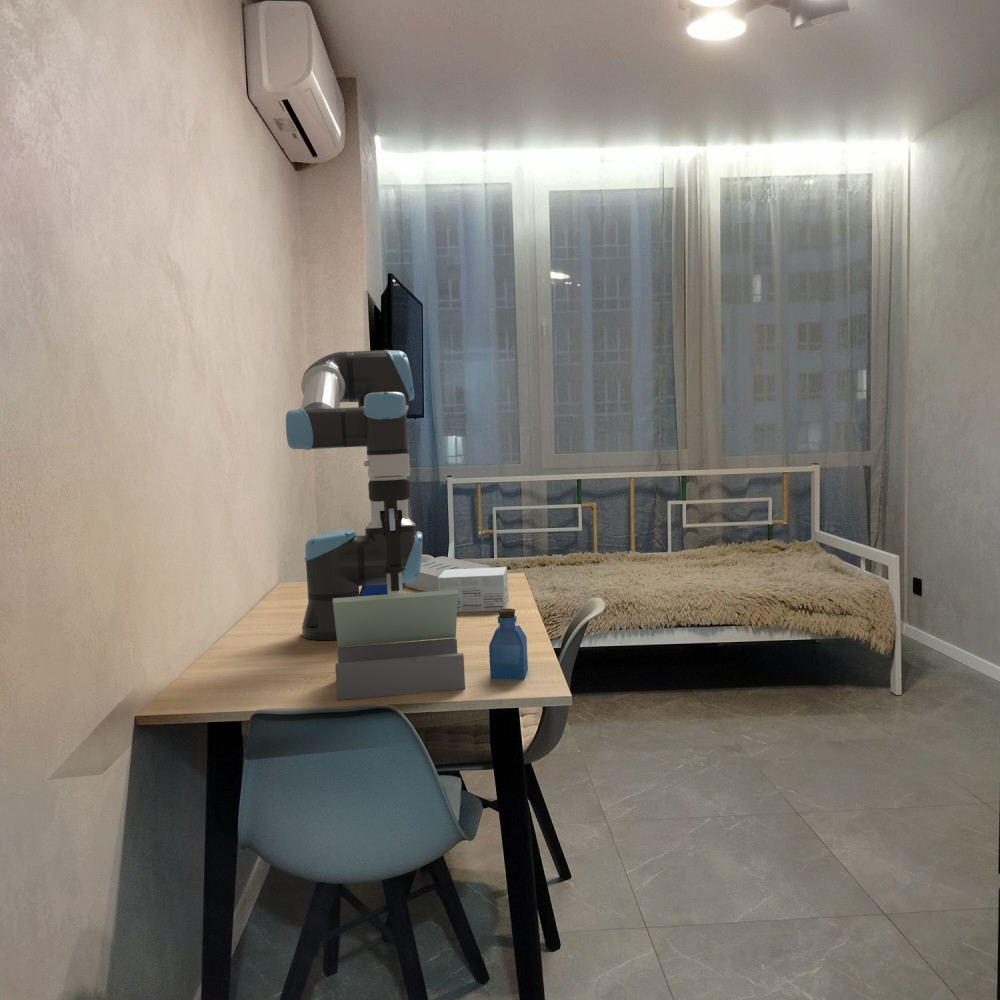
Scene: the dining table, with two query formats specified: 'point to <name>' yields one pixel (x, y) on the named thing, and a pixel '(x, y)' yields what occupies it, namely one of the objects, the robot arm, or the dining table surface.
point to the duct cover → (395, 617)
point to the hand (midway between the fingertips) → (395, 607)
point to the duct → (399, 669)
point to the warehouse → (439, 571)
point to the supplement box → (477, 588)
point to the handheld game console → (375, 590)
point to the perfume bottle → (508, 648)
